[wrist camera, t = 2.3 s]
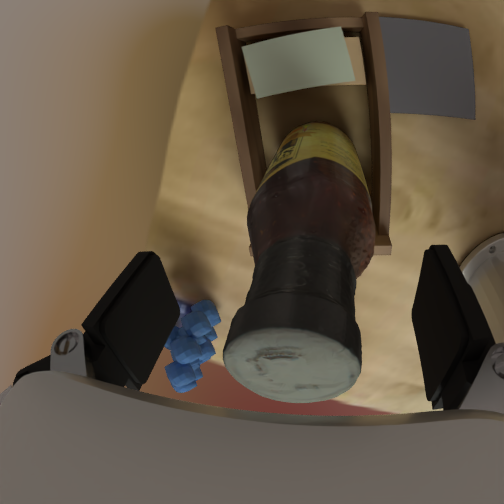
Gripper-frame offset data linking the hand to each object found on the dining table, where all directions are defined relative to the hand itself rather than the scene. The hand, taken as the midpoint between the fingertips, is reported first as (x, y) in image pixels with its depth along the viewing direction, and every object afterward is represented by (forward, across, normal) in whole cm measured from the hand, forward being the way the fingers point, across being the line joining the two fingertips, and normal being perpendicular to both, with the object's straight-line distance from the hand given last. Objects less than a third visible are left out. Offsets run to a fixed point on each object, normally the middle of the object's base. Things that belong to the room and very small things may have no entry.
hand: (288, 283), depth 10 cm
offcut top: (+14, 0, -7) cm, 15 cm away
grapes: (+17, +14, +18) cm, 28 cm away
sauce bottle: (+17, -1, 0) cm, 17 cm away
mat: (+17, -11, -7) cm, 21 cm away
